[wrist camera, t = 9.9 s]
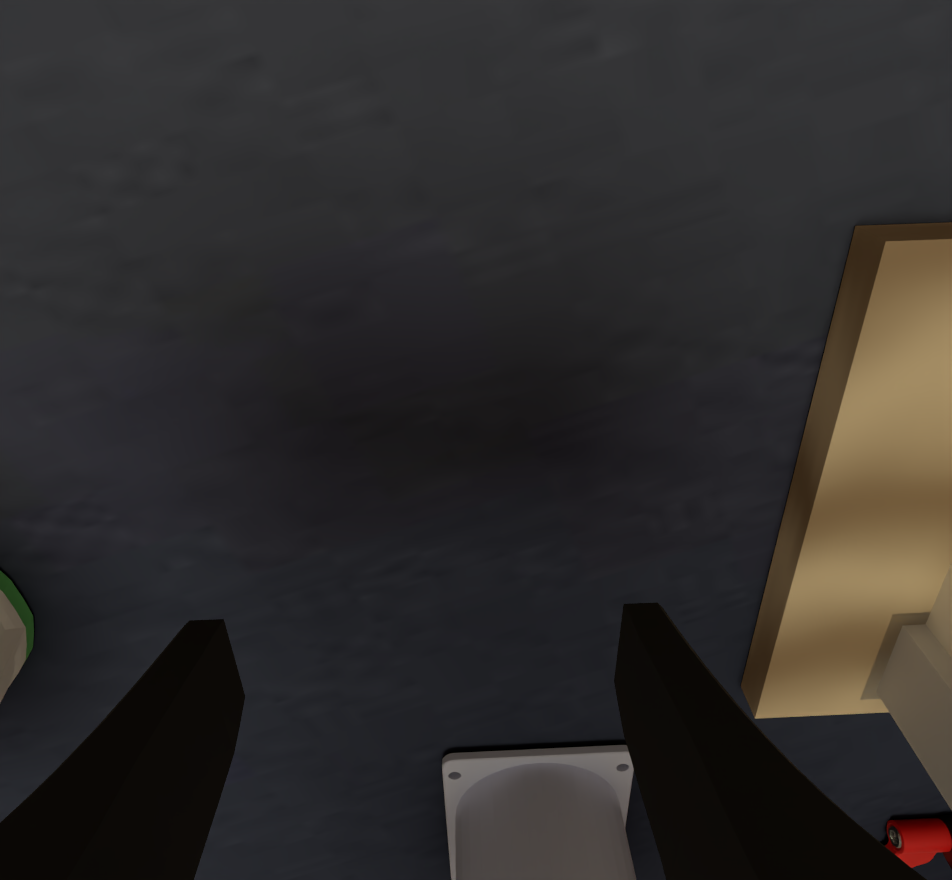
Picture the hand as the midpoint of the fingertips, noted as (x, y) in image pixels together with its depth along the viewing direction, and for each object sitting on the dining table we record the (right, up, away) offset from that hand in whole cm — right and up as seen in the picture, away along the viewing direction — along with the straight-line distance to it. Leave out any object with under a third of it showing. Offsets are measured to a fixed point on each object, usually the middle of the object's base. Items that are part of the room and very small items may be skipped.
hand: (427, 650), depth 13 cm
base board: (+17, +2, +11) cm, 20 cm away
